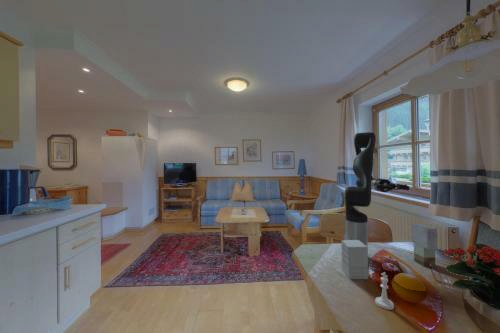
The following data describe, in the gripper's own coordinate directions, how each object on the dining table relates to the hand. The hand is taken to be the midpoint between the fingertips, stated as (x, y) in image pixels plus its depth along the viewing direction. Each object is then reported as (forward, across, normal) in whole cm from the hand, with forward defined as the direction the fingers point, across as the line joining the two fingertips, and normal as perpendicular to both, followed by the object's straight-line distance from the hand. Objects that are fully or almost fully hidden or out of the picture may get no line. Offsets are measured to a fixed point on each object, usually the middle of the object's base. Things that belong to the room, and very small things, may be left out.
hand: (399, 188), depth 102 cm
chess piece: (+40, -33, +32) cm, 61 cm away
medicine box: (+14, +1, +24) cm, 28 cm away
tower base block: (+14, +1, +32) cm, 35 cm away
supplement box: (+23, -34, +32) cm, 52 cm away
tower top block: (+14, +1, +28) cm, 31 cm away
